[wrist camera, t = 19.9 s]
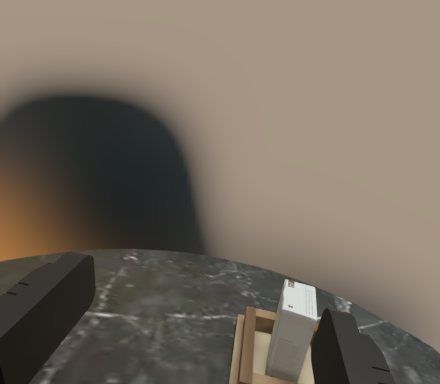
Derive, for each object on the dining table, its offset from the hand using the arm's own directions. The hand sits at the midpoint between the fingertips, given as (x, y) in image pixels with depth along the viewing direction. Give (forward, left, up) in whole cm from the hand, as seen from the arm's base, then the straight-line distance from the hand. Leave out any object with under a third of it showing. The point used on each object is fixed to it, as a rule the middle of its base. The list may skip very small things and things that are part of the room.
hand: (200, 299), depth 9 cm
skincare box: (+10, +21, -29) cm, 37 cm away
